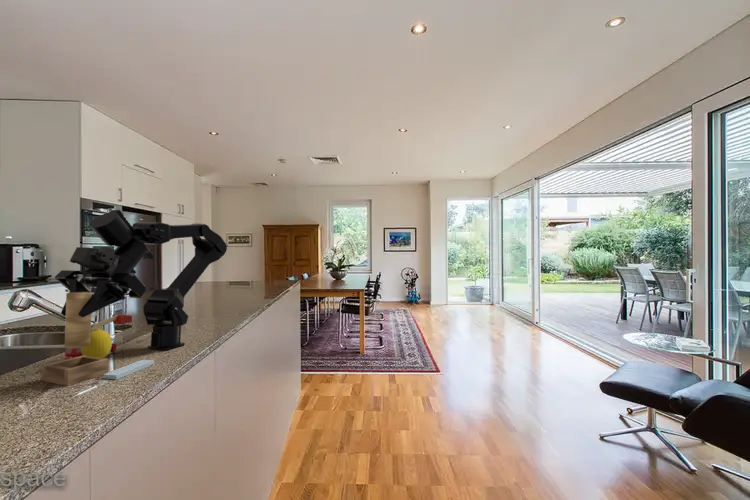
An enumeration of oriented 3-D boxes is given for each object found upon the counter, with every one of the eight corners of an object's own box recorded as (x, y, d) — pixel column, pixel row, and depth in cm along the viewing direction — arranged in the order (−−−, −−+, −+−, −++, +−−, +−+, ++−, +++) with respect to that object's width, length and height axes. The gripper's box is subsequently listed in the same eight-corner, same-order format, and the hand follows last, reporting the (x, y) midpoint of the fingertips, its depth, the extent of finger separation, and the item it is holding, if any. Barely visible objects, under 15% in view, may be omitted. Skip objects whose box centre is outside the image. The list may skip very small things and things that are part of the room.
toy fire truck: (61, 363, 78) (63, 321, 78) (122, 348, 91) (123, 312, 91) (71, 365, 77) (73, 322, 77) (131, 349, 90) (132, 313, 90)
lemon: (93, 367, 75) (95, 332, 75) (73, 365, 76) (75, 330, 77) (117, 360, 81) (118, 327, 81) (98, 358, 82) (99, 325, 82)
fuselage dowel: (88, 342, 73) (89, 291, 73) (91, 345, 70) (93, 293, 70) (63, 345, 70) (64, 292, 70) (66, 349, 67) (68, 294, 67)
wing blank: (142, 363, 79) (142, 359, 79) (153, 363, 79) (154, 360, 79) (103, 378, 69) (103, 374, 69) (116, 379, 69) (116, 375, 69)
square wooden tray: (83, 368, 75) (84, 355, 75) (108, 373, 72) (108, 359, 72) (41, 380, 67) (42, 365, 67) (67, 385, 65) (68, 370, 65)
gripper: (65, 234, 76) (1, 288, 65) (136, 235, 72) (80, 292, 61) (99, 267, 83) (46, 321, 73) (164, 270, 80) (119, 326, 69)
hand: (71, 315), depth 69 cm, fingers closed on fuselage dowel, 4 cm apart
